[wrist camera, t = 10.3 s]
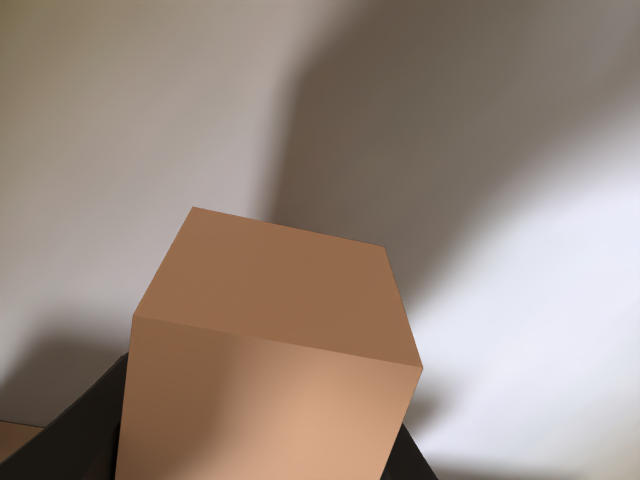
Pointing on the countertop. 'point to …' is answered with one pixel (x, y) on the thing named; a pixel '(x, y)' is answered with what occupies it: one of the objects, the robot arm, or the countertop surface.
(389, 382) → the block
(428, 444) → the countertop surface
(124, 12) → the countertop surface
